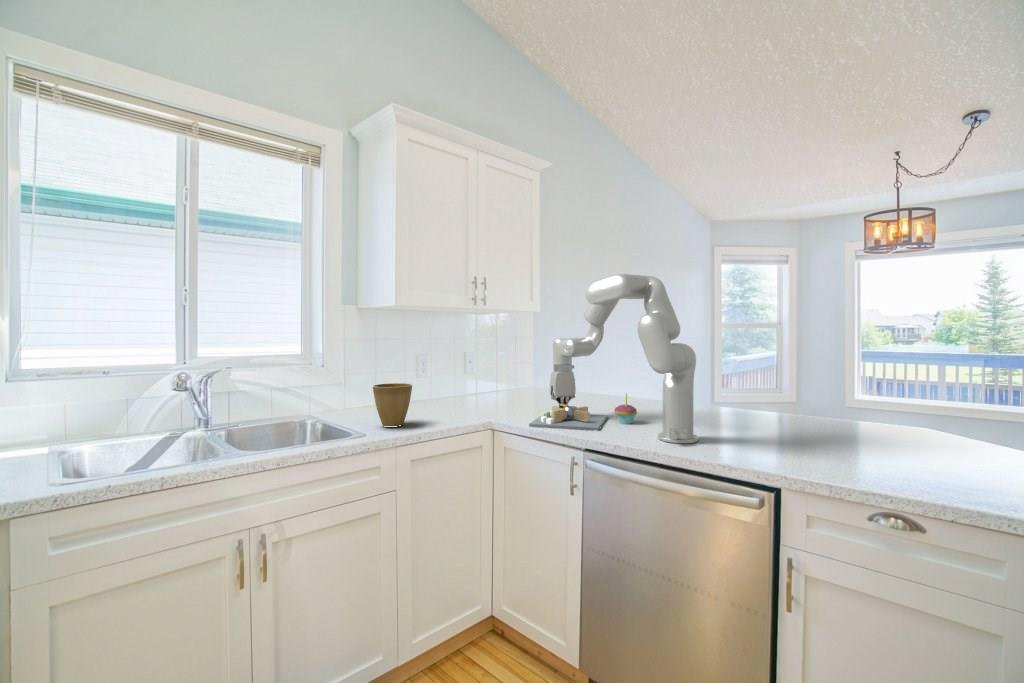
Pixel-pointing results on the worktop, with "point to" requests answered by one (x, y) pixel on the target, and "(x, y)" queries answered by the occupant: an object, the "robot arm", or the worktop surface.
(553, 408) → the tan cross shape
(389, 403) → the plant pot
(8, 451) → the worktop surface
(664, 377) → the robot arm
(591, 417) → the stand
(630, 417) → the cupcake
